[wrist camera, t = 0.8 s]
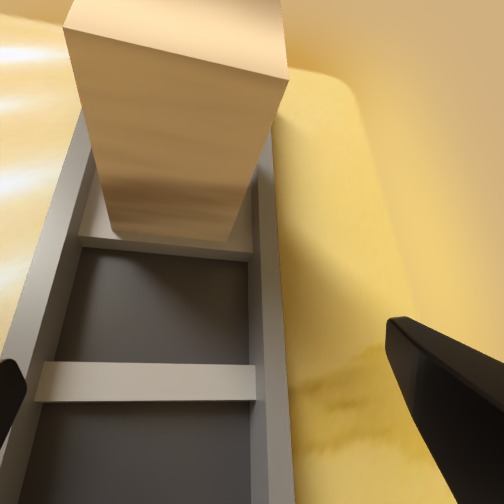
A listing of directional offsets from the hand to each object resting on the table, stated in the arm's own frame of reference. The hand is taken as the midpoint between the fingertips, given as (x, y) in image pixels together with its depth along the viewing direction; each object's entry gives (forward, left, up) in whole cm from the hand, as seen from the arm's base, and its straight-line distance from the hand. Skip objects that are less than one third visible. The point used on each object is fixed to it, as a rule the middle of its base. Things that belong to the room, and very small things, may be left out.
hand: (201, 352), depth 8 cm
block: (+10, +1, -8) cm, 13 cm away
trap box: (+7, +1, -9) cm, 12 cm away
